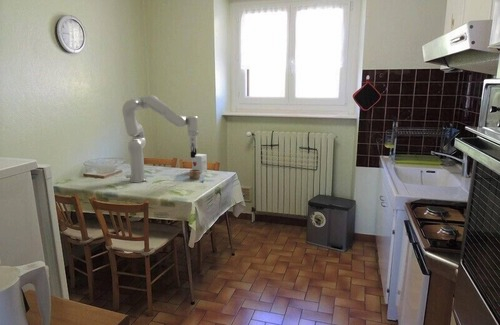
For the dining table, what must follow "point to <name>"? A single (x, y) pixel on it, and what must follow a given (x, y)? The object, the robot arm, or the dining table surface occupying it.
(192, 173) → the collar
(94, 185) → the dining table surface
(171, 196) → the dining table surface
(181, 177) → the post board
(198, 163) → the supplement box
